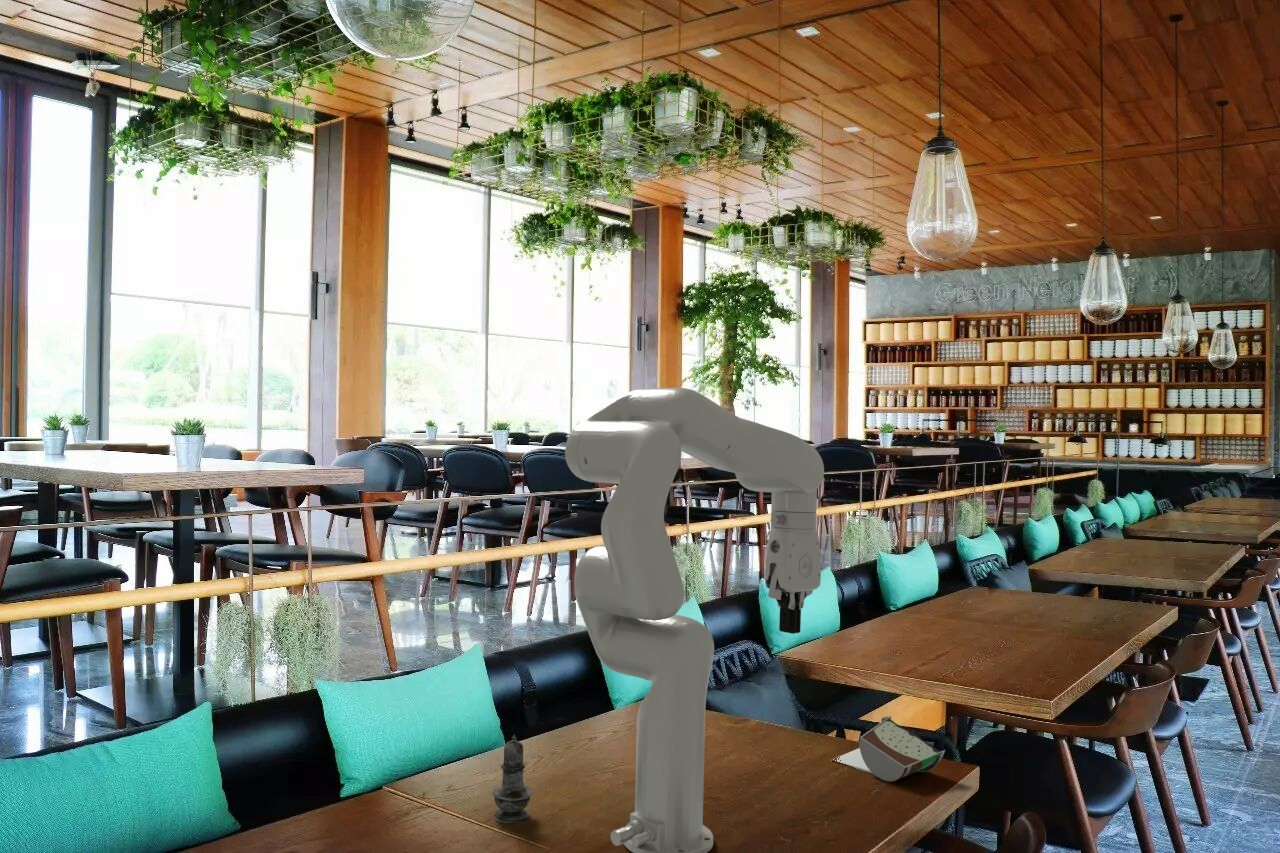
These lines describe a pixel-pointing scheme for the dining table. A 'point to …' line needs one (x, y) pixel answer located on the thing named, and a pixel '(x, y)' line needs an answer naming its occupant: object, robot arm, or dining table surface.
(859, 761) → the mat
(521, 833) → the dining table surface
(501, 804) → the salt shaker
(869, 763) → the food container
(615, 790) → the dining table surface
